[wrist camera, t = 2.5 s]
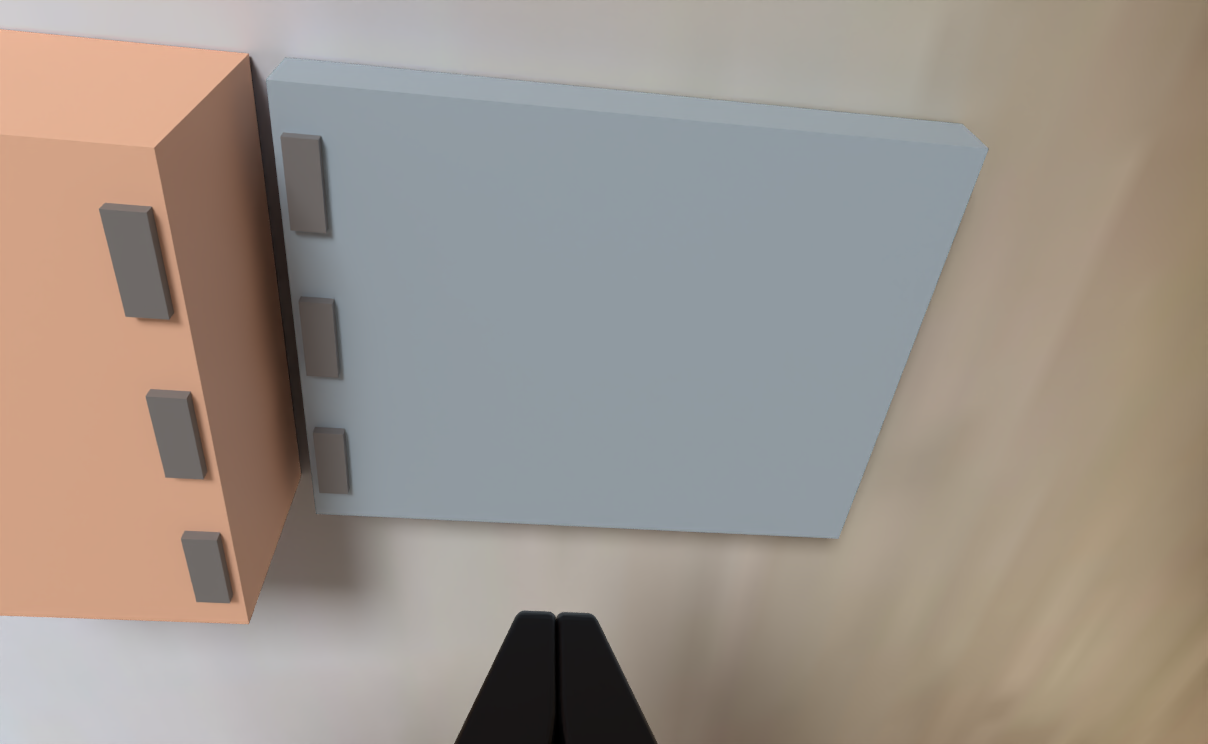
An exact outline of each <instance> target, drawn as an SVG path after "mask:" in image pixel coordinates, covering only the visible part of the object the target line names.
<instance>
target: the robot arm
mask: <svg viewBox="0 0 1208 744" xmlns="http://www.w3.org/2000/svg"><path fill="white" fill-rule="evenodd" d="M454 744H658V743H657V741H656V739H655V737H654V735H653V733H652V731H651V729H650V727H649V725H648V723H647V721H646V719H645V717H644V714H643V712H642V710H641V708H640V706H639V704H638V702H637V700H636V698H635V696H634V694H633V692H632V690H631V688H630V686H629V684H628V682H627V680H626V678H625V675H624V673H623V671H622V669H621V667H620V665H619V663H618V661H617V659H616V657H615V655H614V653H613V651H612V649H611V647H610V645H609V643H608V641H607V639H606V636H605V634H604V632H603V630H602V628H601V626H600V624H599V622H598V620H597V619H596V618H595V616H594V615H592V614H590V613H571V612H562V613H560V614H558V616H557V617H555V615H554V614H553V613H551V612H546V611H521V612H519V613H518V614H517V615H516V617H515V619H514V621H513V623H512V625H511V627H510V629H509V631H508V633H507V635H506V637H505V639H504V642H503V644H502V646H501V648H500V650H499V652H498V654H497V656H496V658H495V660H494V662H493V664H492V666H491V669H490V671H489V673H488V675H487V677H486V679H485V681H484V683H483V685H482V687H481V689H480V691H479V693H478V695H477V698H476V700H475V702H474V704H473V706H472V708H471V710H470V712H469V714H468V716H467V718H466V720H465V722H464V725H463V727H462V729H461V731H460V733H459V735H458V737H457V739H456V741H455V743H454Z"/></svg>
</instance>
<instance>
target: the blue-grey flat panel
mask: <svg viewBox="0 0 1208 744" xmlns="http://www.w3.org/2000/svg"><path fill="white" fill-rule="evenodd" d="M266 84H267V93H268V102H269V110H270V119H271V128H272V136H273V145H274V154H275V162H276V171H277V180H278V188H279V197H280V206H281V214H282V223H283V232H284V240H285V249H286V258H287V266H288V275H289V284H290V292H291V301H292V310H293V318H294V327H295V336H296V344H297V353H298V362H299V370H300V379H301V388H302V396H303V405H304V414H305V422H306V431H307V440H308V448H309V457H310V466H311V474H312V483H313V492H314V501H315V509H316V514H329V515H350V516H371V517H392V518H413V519H434V520H456V521H477V522H498V523H519V524H540V525H561V526H582V527H603V528H625V529H646V530H667V531H688V532H709V533H730V534H751V535H772V536H794V537H815V538H836V539H839V536H840V533H841V531H842V528H843V526H844V523H845V520H846V518H847V515H848V513H849V510H850V507H851V505H852V502H853V500H854V497H855V494H856V492H857V489H858V487H859V484H860V481H861V479H862V476H863V474H864V471H865V468H866V466H867V463H868V461H869V458H870V455H871V453H872V450H873V448H874V445H875V442H876V440H877V437H878V435H879V432H880V429H881V427H882V424H883V422H884V419H885V417H886V414H887V411H888V409H889V406H890V404H891V401H892V398H893V396H894V393H895V391H896V388H897V385H898V383H899V380H900V378H901V375H902V372H903V370H904V367H905V365H906V362H907V359H908V357H909V354H910V352H911V349H912V346H913V344H914V341H915V339H916V336H917V333H918V331H919V328H920V326H921V323H922V320H923V318H924V315H925V313H926V310H927V307H928V305H929V302H930V300H931V297H932V295H933V292H934V289H935V287H936V284H937V282H938V279H939V276H940V274H941V271H942V269H943V266H944V263H945V261H946V258H947V256H948V253H949V250H950V248H951V245H952V243H953V240H954V237H955V235H956V232H957V230H958V227H959V224H960V222H961V219H962V217H963V214H964V211H965V209H966V206H967V204H968V201H969V198H970V196H971V193H972V191H973V188H974V185H975V183H976V180H977V178H978V175H979V173H980V170H981V167H982V165H983V162H984V160H985V157H986V154H987V152H988V148H987V147H986V146H985V145H984V144H983V143H982V142H981V141H980V140H979V139H978V138H977V137H976V136H975V135H974V134H972V133H971V132H970V131H969V130H968V129H967V128H966V127H965V126H964V125H963V124H958V123H948V122H938V121H927V120H917V119H907V118H897V117H887V116H877V115H866V114H856V113H846V112H836V111H826V110H816V109H805V108H795V107H785V106H775V105H765V104H755V103H744V102H734V101H724V100H714V99H704V98H694V97H683V96H673V95H663V94H653V93H643V92H632V91H622V90H612V89H602V88H592V87H582V86H571V85H561V84H551V83H541V82H531V81H521V80H510V79H500V78H490V77H480V76H470V75H460V74H449V73H439V72H429V71H419V70H409V69H399V68H388V67H378V66H368V65H358V64H348V63H337V62H327V61H317V60H307V59H297V58H287V57H285V58H284V60H283V61H282V62H281V63H280V64H279V65H278V66H277V68H276V69H275V70H274V71H273V72H272V73H271V74H270V76H269V77H268V78H267V79H266Z"/></svg>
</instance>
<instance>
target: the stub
mask: <svg viewBox="0 0 1208 744" xmlns="http://www.w3.org/2000/svg"><path fill="white" fill-rule="evenodd" d="M300 478H301V469H300V461H299V453H298V445H297V437H296V429H295V421H294V413H293V405H292V397H291V389H290V381H289V373H288V365H287V357H286V349H285V341H284V333H283V325H282V317H281V309H280V301H279V293H278V285H277V277H276V269H275V261H274V253H273V245H272V237H271V229H270V221H269V213H268V205H267V197H266V189H265V181H264V173H263V165H262V157H261V149H260V141H259V133H258V125H257V116H256V108H255V100H254V92H253V84H252V76H251V68H250V60H249V54H246V53H236V52H226V51H215V50H205V49H195V48H185V47H175V46H165V45H154V44H144V43H134V42H124V41H114V40H104V39H93V38H83V37H73V36H63V35H53V34H42V33H32V32H22V31H12V30H2V29H0V615H1V616H30V617H59V618H87V619H116V620H145V621H174V622H203V623H232V624H249V622H250V620H251V617H252V614H253V611H254V608H255V605H256V603H257V600H258V597H259V594H260V591H261V588H262V586H263V583H264V580H265V577H266V574H267V571H268V568H269V566H270V563H271V560H272V557H273V554H274V551H275V549H276V546H277V543H278V540H279V537H280V534H281V532H282V529H283V526H284V523H285V520H286V517H287V515H288V512H289V509H290V506H291V503H292V500H293V498H294V495H295V492H296V489H297V486H298V483H299V481H300Z"/></svg>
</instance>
